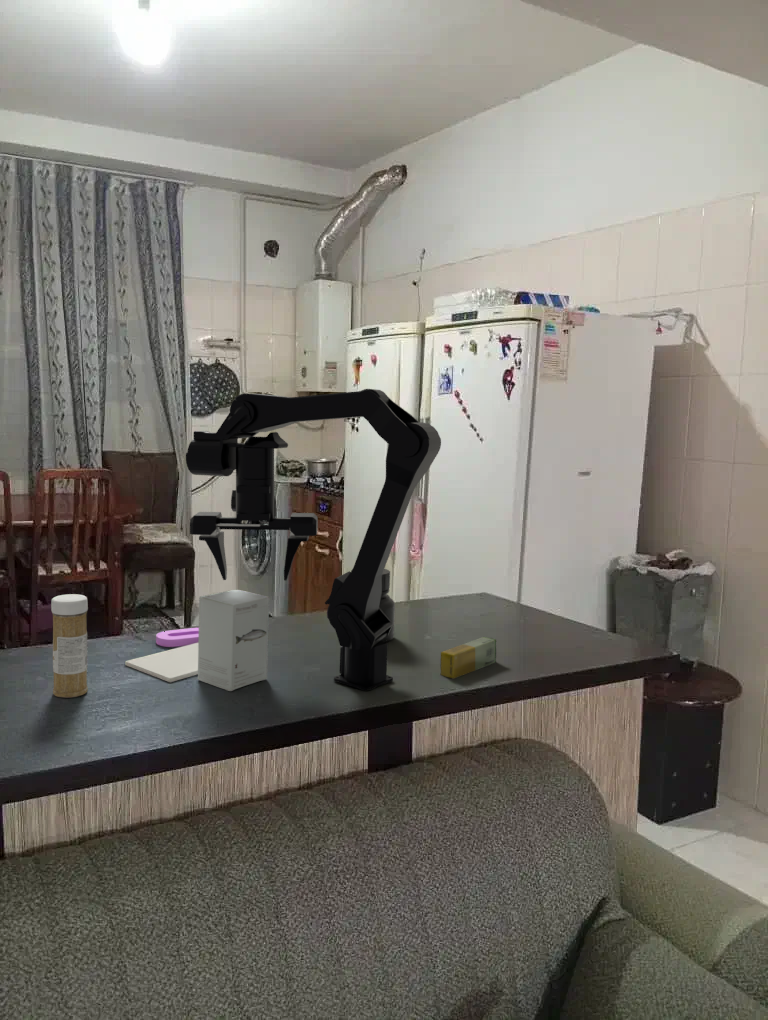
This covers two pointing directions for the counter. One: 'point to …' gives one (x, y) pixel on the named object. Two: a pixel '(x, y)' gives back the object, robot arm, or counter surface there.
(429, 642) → the counter surface
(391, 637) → the ink bottle
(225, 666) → the supplement box
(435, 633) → the counter surface
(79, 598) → the sprinkles bottle
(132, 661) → the mat
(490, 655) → the medication box
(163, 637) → the bracket
